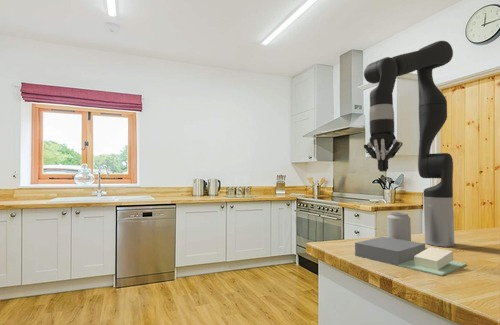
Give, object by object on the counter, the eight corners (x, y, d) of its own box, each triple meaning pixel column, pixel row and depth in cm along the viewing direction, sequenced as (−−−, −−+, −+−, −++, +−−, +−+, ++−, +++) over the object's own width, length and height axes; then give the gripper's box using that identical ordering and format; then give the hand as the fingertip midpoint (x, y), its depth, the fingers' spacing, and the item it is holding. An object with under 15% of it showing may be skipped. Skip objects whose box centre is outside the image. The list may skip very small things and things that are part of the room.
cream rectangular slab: (452, 251, 85) (453, 263, 85) (430, 246, 90) (431, 258, 90) (436, 261, 80) (438, 274, 80) (413, 256, 85) (415, 268, 85)
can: (414, 249, 105) (413, 214, 105) (390, 248, 106) (389, 213, 107) (407, 244, 112) (406, 211, 112) (385, 243, 113) (384, 211, 114)
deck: (383, 248, 106) (382, 236, 107) (425, 256, 95) (425, 243, 95) (355, 255, 97) (354, 242, 97) (398, 265, 86) (398, 251, 86)
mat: (425, 256, 95) (425, 255, 95) (466, 264, 86) (466, 263, 86) (398, 265, 86) (398, 264, 86) (441, 276, 77) (441, 274, 77)
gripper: (407, 117, 99) (408, 171, 99) (369, 123, 110) (371, 171, 109) (395, 115, 95) (396, 171, 94) (357, 121, 105) (358, 171, 105)
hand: (383, 171), depth 102 cm, fingers closed
